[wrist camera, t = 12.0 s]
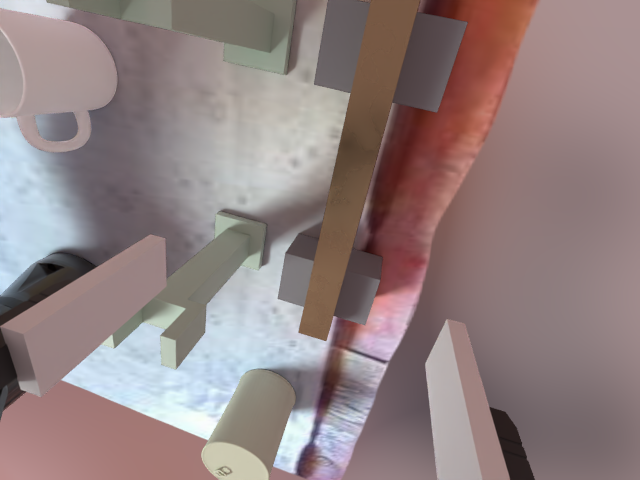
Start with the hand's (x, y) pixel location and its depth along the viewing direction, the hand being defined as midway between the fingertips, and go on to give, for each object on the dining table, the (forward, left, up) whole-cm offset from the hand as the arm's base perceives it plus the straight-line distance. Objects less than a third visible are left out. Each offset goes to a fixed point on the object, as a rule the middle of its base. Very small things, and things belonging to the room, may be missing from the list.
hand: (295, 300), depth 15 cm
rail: (0, 0, -17) cm, 17 cm away
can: (-32, -16, -22) cm, 42 cm away
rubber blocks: (0, 0, -22) cm, 22 cm away
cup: (-15, +27, -22) cm, 38 cm away
